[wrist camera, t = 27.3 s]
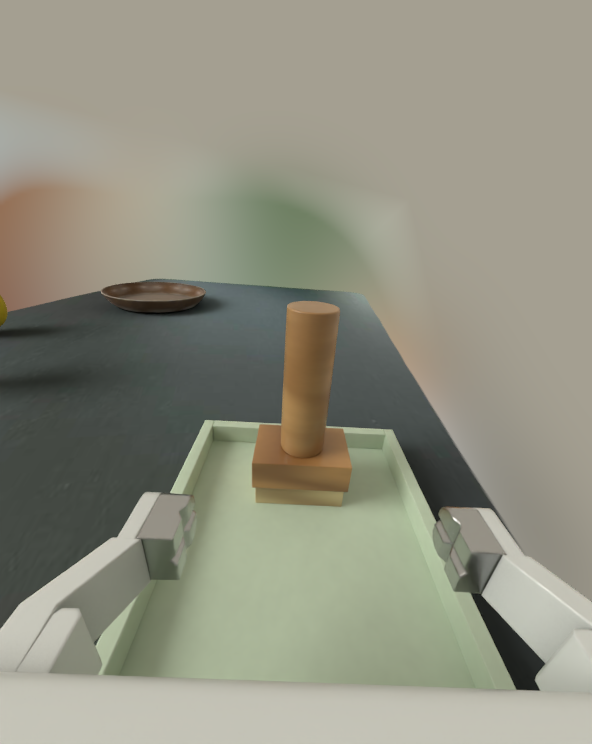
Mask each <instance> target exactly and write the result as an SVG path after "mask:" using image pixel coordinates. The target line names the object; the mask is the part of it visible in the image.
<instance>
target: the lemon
mask: <svg viewBox="0 0 592 744" xmlns="http://www.w3.org/2000/svg"><path fill="white" fill-rule="evenodd" d="M6 318H7V307H6V304H5V302H4V300H3V298H2V297H1V296H0V326H1V325H3V323H4V322H5V321H6Z"/></svg>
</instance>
